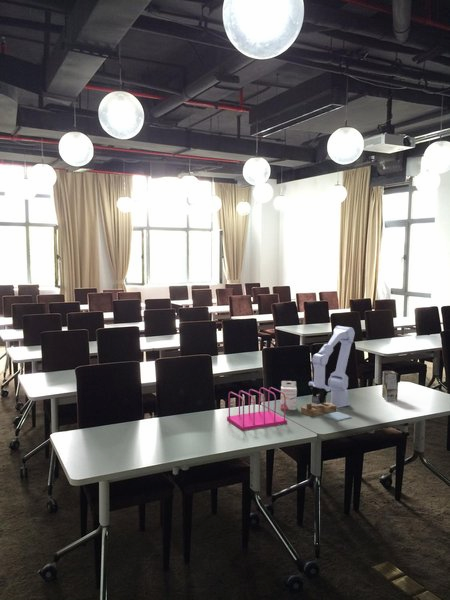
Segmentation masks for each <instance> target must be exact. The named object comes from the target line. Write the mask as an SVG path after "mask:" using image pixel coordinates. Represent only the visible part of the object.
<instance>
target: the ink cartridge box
mask: <svg viewBox="0 0 450 600" xmlns="http://www.w3.org/2000/svg"><path fill="white" fill-rule="evenodd" d="M280 384H281V386H280V391H281V392H283V393H284V394H285V397H286V408H285V411H287V410H288V411H290V410H291V411H297V401H298V400H297V398H298V397H297V395H298V389H297V388H298V387H297V381H295V380H294V381H292V380H281V383H280ZM280 410H284V395H283V394H282V393H280Z"/></svg>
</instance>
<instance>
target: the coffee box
mask: <svg viewBox="0 0 450 600" xmlns="http://www.w3.org/2000/svg"><path fill="white" fill-rule="evenodd" d="M381 388H382V392H381V393H382V395H381V397H383V398H384V400H385V401H386V402H387V401H396V403H397V402H398V395H399V394H398V393H399V392H398V391H399V389H398V388H399V373H398V372H396V371H394V370H383V371H382V385H381ZM383 398H382V399H383Z"/></svg>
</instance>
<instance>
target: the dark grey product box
mask: <svg viewBox="0 0 450 600" xmlns="http://www.w3.org/2000/svg"><path fill="white" fill-rule="evenodd" d="M326 402H327V397H326V398H325V401H324V403H326ZM311 404H322V403H321V402H320V394H319V393H318V395H314V396H313V395H312V396H311Z"/></svg>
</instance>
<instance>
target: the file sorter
mask: <svg viewBox="0 0 450 600" xmlns="http://www.w3.org/2000/svg"><path fill="white" fill-rule="evenodd" d="M271 389H273V390H274V391H276V392H278V393H280V394H281V393H282V394H283V395H284V409H283V417H282V416H280V415H279V414H277V413H276V411H277V410H276V408H277V397H276V394H275V392H273V391H271ZM261 390H265V391H266V392H267V393H268V395H267V410H266V406H265V405H266V402H265V395H264V394H263V393H262V391H261ZM251 391H252V392H255V393H257V394H258V411H256V407H255V404H256V402H255V397H254V396H253V395H252V394H251ZM241 393H243V394H246V395H247V396H248V412H247V413H245V400H244V398H243V397H242V396H241ZM231 394H232V395H235V396H236V397H238V414H235V415H231V403H230V401H231V399H230V398H231V396H230V395H231ZM270 394H272V395H273V397H274V409H273V410H274V412H272V410H270ZM261 397H262V399H263V400H262V401H263V402H262V403H263V407H262V408H263V410H262V411H261ZM251 398H252V401H253V410H252V411H253V412H251ZM241 401H242V414H241ZM285 408H286V397H285V394H284V393H283V392H281V390H279V389H277V388H275V387H272V386H271V387H269V388H268V389H267V388H265V387H260V388H259V391H258V390H255V389H253V388H250V389H249V390H248V392H247V391H244V390H239V392H238V394H237V393H235V392H233V391H229V392H228V416H226V420H227V421H228V422H230V423H231V424H233V426H236V427H237V428H238V429H240V430H241V431H247V430H254V429H259V428H260V429H261V428H266V427H267V428H268V427H273V426H279V425H278V424H280V425H285V423H286V424H288V420H287V419H286V409H285Z"/></svg>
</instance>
